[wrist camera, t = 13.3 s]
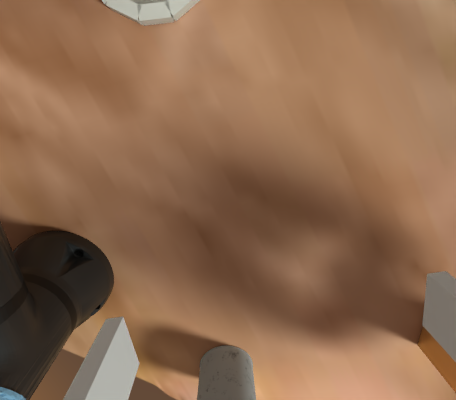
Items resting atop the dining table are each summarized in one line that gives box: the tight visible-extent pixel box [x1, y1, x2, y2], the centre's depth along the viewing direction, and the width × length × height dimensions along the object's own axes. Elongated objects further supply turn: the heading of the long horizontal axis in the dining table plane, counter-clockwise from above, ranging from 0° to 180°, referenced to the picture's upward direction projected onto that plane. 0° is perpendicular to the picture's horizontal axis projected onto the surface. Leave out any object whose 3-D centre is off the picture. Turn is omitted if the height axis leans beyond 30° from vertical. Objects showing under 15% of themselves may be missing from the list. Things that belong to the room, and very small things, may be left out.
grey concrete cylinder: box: [197, 345, 256, 400], centre depth 45 cm, size 10×10×12 cm
